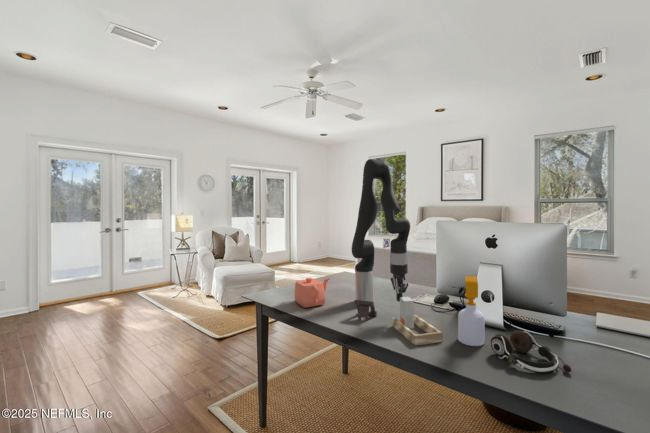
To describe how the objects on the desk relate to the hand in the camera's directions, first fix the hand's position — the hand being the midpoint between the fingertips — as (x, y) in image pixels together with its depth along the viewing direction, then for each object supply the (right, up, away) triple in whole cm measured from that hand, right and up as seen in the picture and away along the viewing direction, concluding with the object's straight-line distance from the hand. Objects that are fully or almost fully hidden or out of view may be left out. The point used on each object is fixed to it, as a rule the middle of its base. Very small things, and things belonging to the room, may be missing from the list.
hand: (399, 301), depth 142 cm
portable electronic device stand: (-14, -9, +5) cm, 18 cm away
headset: (+34, -10, -37) cm, 51 cm away
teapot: (-39, -9, +28) cm, 49 cm away
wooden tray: (+3, -9, -13) cm, 16 cm away
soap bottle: (+22, -10, -22) cm, 32 cm away
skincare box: (+2, -9, -6) cm, 11 cm away
